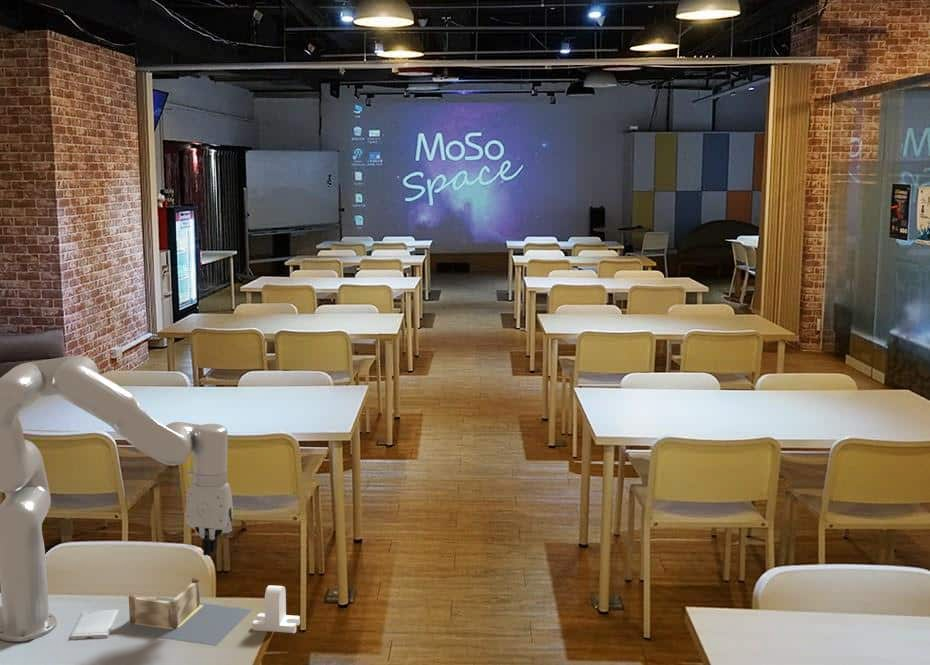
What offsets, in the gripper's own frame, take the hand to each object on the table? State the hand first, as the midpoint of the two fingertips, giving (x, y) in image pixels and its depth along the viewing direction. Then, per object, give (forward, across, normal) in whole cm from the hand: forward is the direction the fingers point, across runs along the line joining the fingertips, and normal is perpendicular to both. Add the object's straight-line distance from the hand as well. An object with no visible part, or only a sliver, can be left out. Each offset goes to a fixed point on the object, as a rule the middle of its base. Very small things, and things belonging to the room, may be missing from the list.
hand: (209, 553), depth 225 cm
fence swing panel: (+15, -5, -2) cm, 16 cm away
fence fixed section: (+16, -11, -8) cm, 21 cm away
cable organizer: (+15, +18, -1) cm, 23 cm away
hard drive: (+17, -22, -12) cm, 30 cm away
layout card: (+16, -4, -4) cm, 17 cm away
